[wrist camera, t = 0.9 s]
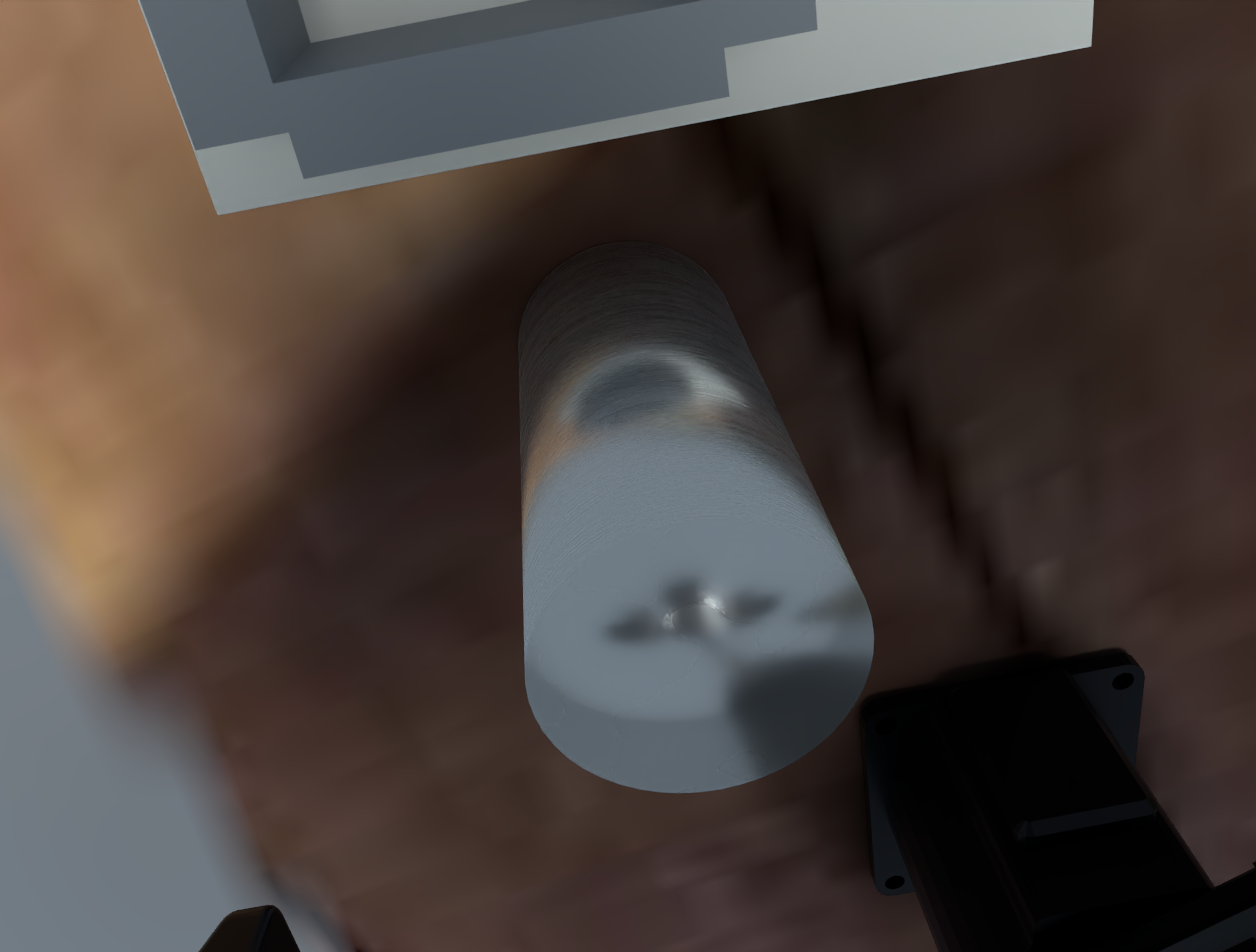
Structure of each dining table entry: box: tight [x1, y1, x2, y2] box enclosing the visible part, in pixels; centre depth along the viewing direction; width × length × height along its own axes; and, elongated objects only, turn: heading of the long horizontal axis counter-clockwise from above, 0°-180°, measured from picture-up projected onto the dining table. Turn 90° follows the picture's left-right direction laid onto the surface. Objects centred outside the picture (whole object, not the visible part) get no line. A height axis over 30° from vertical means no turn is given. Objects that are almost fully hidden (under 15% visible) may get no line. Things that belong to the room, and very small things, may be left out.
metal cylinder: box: [518, 241, 874, 793], centre depth 16 cm, size 4×4×9 cm
